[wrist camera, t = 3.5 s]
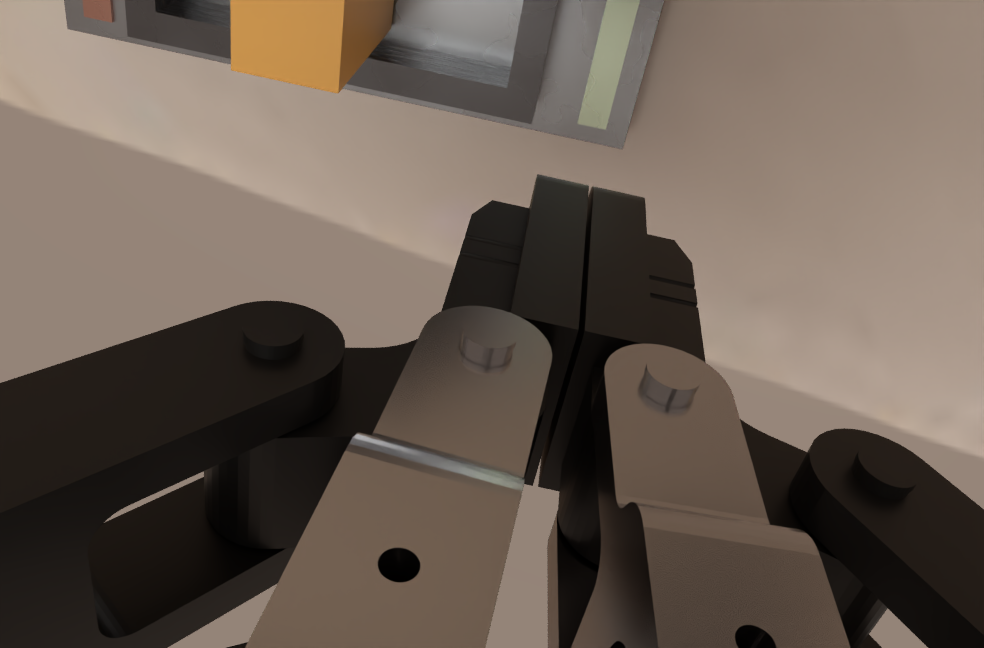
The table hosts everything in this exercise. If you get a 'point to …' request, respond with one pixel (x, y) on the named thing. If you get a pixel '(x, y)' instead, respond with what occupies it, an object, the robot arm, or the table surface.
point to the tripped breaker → (307, 38)
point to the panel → (451, 55)
